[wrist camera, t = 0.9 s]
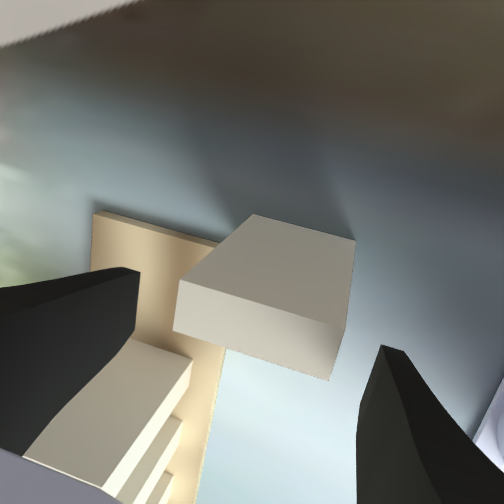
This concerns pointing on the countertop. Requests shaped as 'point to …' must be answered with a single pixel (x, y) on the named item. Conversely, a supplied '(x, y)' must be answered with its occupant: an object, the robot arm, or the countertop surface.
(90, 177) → the countertop surface
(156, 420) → the domino
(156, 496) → the domino
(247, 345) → the domino
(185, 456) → the oak strip
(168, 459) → the domino
